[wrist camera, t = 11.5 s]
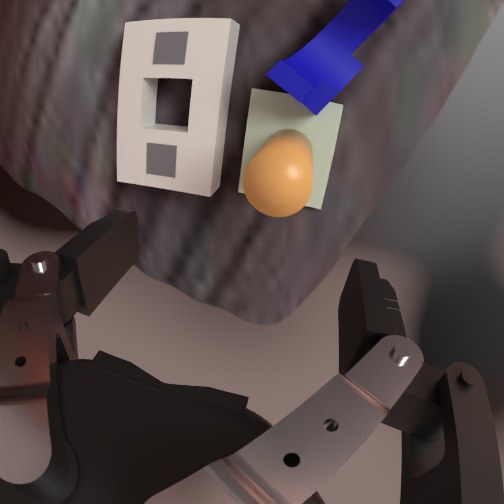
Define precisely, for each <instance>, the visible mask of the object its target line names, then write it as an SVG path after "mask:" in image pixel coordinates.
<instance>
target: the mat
mask: <svg viewBox="0 0 504 504" xmlns="http://www.w3.org/2000/svg"><path fill="white" fill-rule="evenodd" d="M342 110H343V105H341V104H337V103H333V102H329V103H328V104H327V105H326V106H325V107H324V108H323V109H322V111H321V112H320V113H319V114H318V115H317V116H316V115H315V114H313V113H312V112H311V111H310V110H309V109H308V108H307V107H306V106H304V105H303V104H302V103H300V102H298V101H297V100H296V99H295V98H294V97H292V96H291V95H290V94H287V93H281V92H275V91H268V90H261V89H254V88H252V90H251V97H250V105H249V112H248V119H247V127H246V134H245V142H244V149H243V157H242V165H241V172H240V180H239V188H238V192H239V193H244V190H243V175H244V172H245V169H246V167H247V166H248V164H249V163H250V162H251V160H252V159H253V158H254V157H255V156H256V154H257V153H258V152H259V151H260V149H261V148H262V147H263V146H264V145H265V143H266V142H267V141H268V140H269V138H270V137H271V136H272V135H273V134H274V133H276V132H278V131H280V130H283V129H294V130H297V131H300V132H301V133H303V134H304V135H305V136H306V137H307V138H308V139H309V141H310V142H311V145H312V149H313V184H312V193H311V196H310V198H309V200H308V202H307V203H306V205H305V206H308V207H312V208H317V209H321V206H322V202H323V198H324V194H325V189H326V185H327V181H328V176H329V172H330V167H331V163H332V158H333V154H334V149H335V144H336V139H337V135H338V130H339V125H340V120H341V115H342ZM244 194H245V193H244Z"/></svg>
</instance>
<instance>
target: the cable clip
mask: <svg viewBox="0 0 504 504" xmlns="http://www.w3.org/2000/svg"><path fill="white" fill-rule="evenodd" d="M404 1H405V0H349V2H348V3H347V4H346V5H345V6H344V8H343V9H342V10H341V11H340V12H339V13H338V14H337V15H336V16H335V18H334V19H333V20H332V21H331V22H330V23H329V24H328V25H327V26H326V27H325V28H324V29H323V30H322V31H321V32H320V33H319V34H318V35H317V36H316V37H315V38H313V39H312V40H311V41H310V42H309V43H308V44H307V45H306V46H304V47H303V48H302V49H301V50H300V51H298V52H297V53H296V54H294V55H293V56H291V57H290V58H288V59H286V60H280V61H279V62H278V63H277V64H276V65H275V66H274V67H273V68H272V69H271V70H270V71H269V73H268V74H267V76H268V77H269V78H270V79H272V80H273V81H274V82H275V83H277V84H278V85H279V86H280V87H282V88H283V89H284V90H285V91H286V92H288V93H289V94H290V95H291V96H292V97H294V98H295V99H296V100H297V101H298V102H300V103H302V104H303V105H304V106H306V107H307V108H308V109H309V110H310V111H311V112H312V113H313V114H315V115H316V116H317V115H318V114H319V113H320V112H321V111H322V109H323V108H324V107H325V106H326V105H327V104H328V103H329V102H330V101H331V100H332V99H333V98H334V97H335V96H336V95H337V94H338V93H339V92H340V91H341V90H342V89H343V88H344V87H345V86H346V84H347V83H348V82H349V81H350V80H351V79H352V78H353V77H354V76H355V75H356V74H357V73H358V72H359V71H360V70H361V69H362V68H363V67H364V66H363V65H362V64H361V63H360V62H359V61H358V60H357V59H355V58H354V57H353V56H352V55H351V54H352V53H353V52H354V51H355V50H356V49H357V48H358V47H359V46H360V45H361V44H362V43H363V42H364V41H365V40H366V39H367V38H368V37H369V36H370V35H371V34H372V33H373V32H374V31H375V30H376V29H378V28H379V27H380V26H381V25H382V24H383V23H384V22H385V21H386V20H387V19H388V18H389V17H390V16H391V15H392V14H393V13H394V12H395V11H396V10H397V9H398V8H399V6H400V5H401V4H402V3H403V2H404Z"/></svg>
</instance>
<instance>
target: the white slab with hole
mask: <svg viewBox="0 0 504 504" xmlns="http://www.w3.org/2000/svg"><path fill="white" fill-rule="evenodd" d="M239 28H240V25H239V24H238V23H236V22H235V21H234V20H232V19H225V18H176V19H157V20H144V21H134V22H126V23H125V30H124V38H123V46H122V56H121V66H120V79H119V94H118V114H117V181H118V182H125V183H132V184H138V185H144V186H150V187H156V188H162V189H168V190H174V191H180V192H186V193H191V194H197V195H202V196H208V197H211V196H212V195H213V193H214V192H215V191H216V190H217V189H218V188H219V187H220V179H221V170H222V160H223V151H224V142H225V133H226V125H227V117H228V108H229V100H230V93H231V85H232V77H233V70H234V63H235V55H236V48H237V42H238V35H239ZM158 78H180V79H193V81H192V90H191V100H190V111H189V122H188V127H186V126H177V125H166V124H155V114H156V100H157V88H158Z"/></svg>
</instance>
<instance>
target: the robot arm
mask: <svg viewBox="0 0 504 504" xmlns="http://www.w3.org/2000/svg"><path fill="white" fill-rule="evenodd" d="M138 252H139V240H138V220H137V214H136V212H134V211H130V210H125V209H120V208H116V209H114V210H113V211H112V212H110V213H109V214H108V215H106V216H105V217H104V218H102V219H100V220H97V221H95V222H92V223H91V224H89V225H88V226H87V227H86V228H84V229H83V231H81V232H79V233H78V234H77V235H76V236H74V237H73V238H72V239H71V240H70V241H68V242H67V243H66V244H65V245H63V246H62V247H61V248H60V249H58V250H57V251H56V252H55V253H54V252H50V251H43V252H38V253H35V254H32V255H30V256H29V257H28V258H26V259H25V260H24V261H23V263H22V264H19V263H10V261H9V257H8V254H7V252H6V251H5V250H3V249H0V504H325V502H324V501H323V499H322V498H321V496H320V495H319V493H318V492H317V490H318V489H319V488H320V487H321V486H322V485H323V484H324V483H325V482H326V481H327V480H328V479H329V478H330V477H331V476H332V475H333V474H334V473H335V472H336V471H337V470H338V469H339V468H340V467H341V466H342V465H343V464H344V463H345V462H346V461H347V460H348V459H349V458H350V457H351V456H352V455H353V454H354V452H355V451H356V450H357V449H358V448H359V447H360V446H361V445H362V444H363V443H364V442H365V440H366V439H367V438H368V437H369V436H370V435H371V433H372V432H373V431H374V430H375V428H376V427H377V426H378V425H379V424H380V423H383V424H386V425H388V426H391V427H393V428H396V429H399V430H401V431H402V473H401V498H400V504H504V491H503V481H502V472H501V463H500V456H499V450H498V445H497V438H496V433H495V428H494V423H493V418H492V413H491V409H490V405H489V400H488V396H487V392H486V388H485V385H484V381H483V379H482V377H481V375H480V374H479V372H478V371H477V370H476V369H475V368H473V367H472V366H470V365H469V364H466V363H463V362H456V363H453V364H452V365H450V367H449V368H448V369H447V370H446V372H445V371H443V370H440V369H438V368H436V367H433V366H431V365H428V364H426V363H424V362H423V355H422V353H421V351H420V349H419V348H418V346H417V345H416V344H415V343H413V342H412V341H411V340H409V339H407V337H406V333H405V328H404V324H403V320H402V316H401V312H400V311H399V309H400V308H399V305H398V302H397V297H396V293H395V290H394V289H393V287H392V286H391V285H390V283H389V282H388V281H387V280H385V279H381V278H380V277H379V272H378V268H377V265H376V263H373V262H369V261H365V260H361V259H355V260H354V261H353V264H352V266H351V269H350V272H349V275H348V277H347V280H346V283H345V286H344V289H343V291H342V294H341V297H340V302H339V308H338V320H339V374H337V375H336V376H335V377H333V378H332V379H331V380H330V381H329V382H328V383H326V384H325V385H324V386H323V387H322V388H321V389H319V390H318V391H317V392H316V393H315V394H313V395H312V396H311V397H310V398H309V399H307V400H306V401H305V402H304V403H302V404H301V405H300V406H299V407H297V408H296V409H295V410H294V411H292V412H291V413H290V414H288V415H287V416H286V417H285V418H283V419H282V420H281V421H279V422H278V423H277V424H275V425H274V426H272V424H271V423H269V422H268V421H267V420H265V419H264V418H263V417H261V416H260V415H258V414H256V413H255V412H253V411H251V410H249V409H247V408H246V406H247V402H248V397H246V396H242V395H238V394H234V393H230V392H226V391H222V390H218V389H214V388H211V387H201V386H188V385H175V384H166V383H163V382H161V381H160V380H158V379H156V378H155V377H153V376H151V375H150V374H148V373H147V372H145V371H143V370H142V369H141V368H139V367H137V366H136V365H134V364H133V363H131V362H129V361H126V360H123V359H120V358H118V357H115V356H113V355H110V354H108V353H105V352H103V351H99V352H98V353H97V354H96V356H95V357H94V359H93V360H90V359H78V349H77V337H76V323H75V318H74V315H75V314H76V312H79V313H82V314H84V315H87V316H90V315H91V314H92V312H93V311H94V310H95V309H96V307H97V306H98V305H99V304H100V303H101V301H102V300H103V299H104V298H105V297H106V295H107V294H108V293H109V292H110V290H112V288H113V287H114V286H115V285H116V283H118V281H119V280H120V279H121V278H122V277H123V276H124V274H125V273H126V272H127V271H128V270H129V269H130V268H131V266H132V265H133V264H134V263H135V261H136V259H137V257H138Z"/></svg>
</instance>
